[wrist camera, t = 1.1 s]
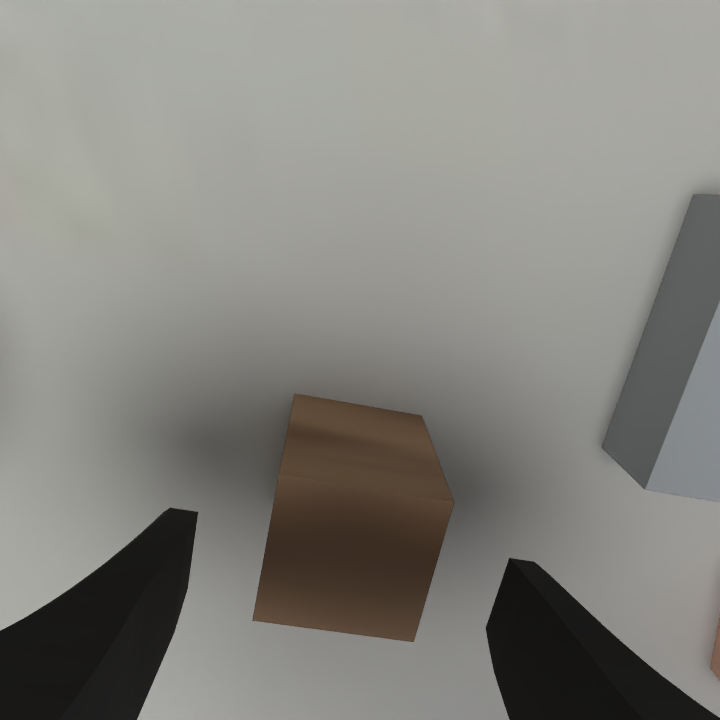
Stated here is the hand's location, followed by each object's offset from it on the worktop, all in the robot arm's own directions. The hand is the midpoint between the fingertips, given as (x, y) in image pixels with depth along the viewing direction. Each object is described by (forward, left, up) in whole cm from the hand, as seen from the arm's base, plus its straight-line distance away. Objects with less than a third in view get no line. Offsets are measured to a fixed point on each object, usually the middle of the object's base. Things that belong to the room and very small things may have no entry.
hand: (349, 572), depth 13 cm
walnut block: (0, 0, -5) cm, 5 cm away
